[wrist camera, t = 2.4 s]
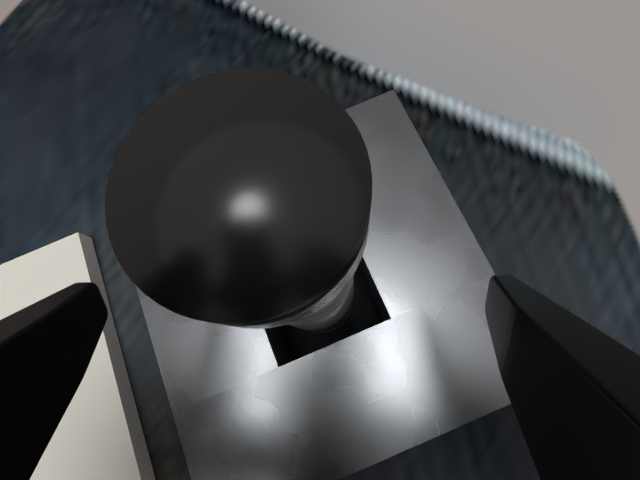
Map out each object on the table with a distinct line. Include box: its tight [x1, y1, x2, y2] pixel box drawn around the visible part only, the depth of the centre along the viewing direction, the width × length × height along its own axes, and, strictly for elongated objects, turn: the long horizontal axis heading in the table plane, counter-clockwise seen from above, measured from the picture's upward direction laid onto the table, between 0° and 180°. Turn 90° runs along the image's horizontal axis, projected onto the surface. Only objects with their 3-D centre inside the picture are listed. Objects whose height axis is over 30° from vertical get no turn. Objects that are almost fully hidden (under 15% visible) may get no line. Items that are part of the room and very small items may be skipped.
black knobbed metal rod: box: [105, 68, 372, 334], centre depth 12 cm, size 4×4×13 cm
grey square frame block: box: [136, 90, 511, 480], centre depth 16 cm, size 12×12×4 cm
